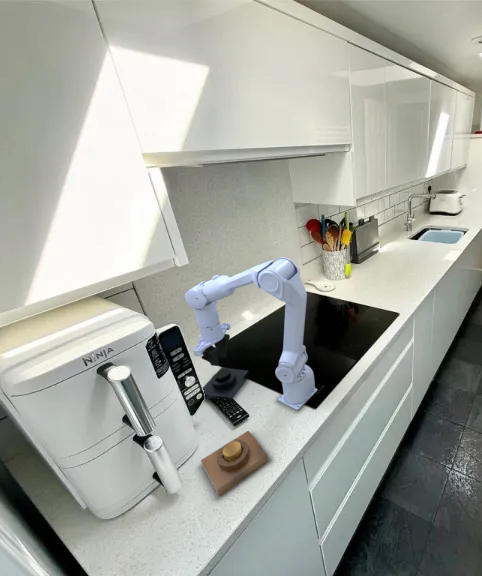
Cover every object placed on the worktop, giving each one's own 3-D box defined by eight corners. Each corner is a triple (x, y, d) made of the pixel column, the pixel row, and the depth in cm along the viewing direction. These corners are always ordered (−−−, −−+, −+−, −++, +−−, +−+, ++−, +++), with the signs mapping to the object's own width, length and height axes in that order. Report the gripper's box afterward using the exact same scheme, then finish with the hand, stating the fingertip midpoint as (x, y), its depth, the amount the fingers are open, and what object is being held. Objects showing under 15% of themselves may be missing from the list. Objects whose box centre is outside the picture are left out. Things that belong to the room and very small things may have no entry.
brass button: (237, 443, 76) (236, 438, 76) (244, 453, 74) (243, 448, 73) (221, 453, 74) (219, 448, 73) (228, 464, 71) (226, 459, 71)
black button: (221, 372, 100) (220, 368, 99) (232, 374, 99) (231, 370, 98) (213, 381, 96) (212, 377, 96) (225, 383, 96) (224, 378, 95)
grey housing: (222, 372, 105) (220, 363, 104) (249, 375, 104) (247, 366, 102) (199, 398, 95) (196, 388, 93) (229, 402, 93) (226, 392, 91)
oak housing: (249, 436, 82) (247, 425, 81) (268, 460, 76) (266, 449, 74) (202, 466, 75) (198, 455, 73) (219, 496, 68) (215, 485, 67)
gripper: (212, 309, 96) (221, 345, 102) (178, 335, 83) (191, 374, 89) (232, 311, 95) (240, 347, 101) (202, 338, 82) (213, 377, 88)
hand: (218, 360), depth 95 cm, fingers open, 3 cm apart
